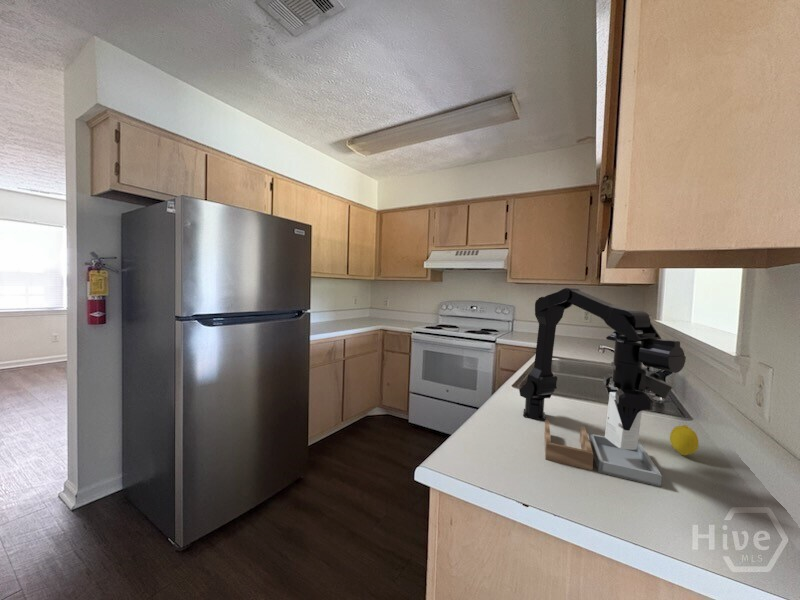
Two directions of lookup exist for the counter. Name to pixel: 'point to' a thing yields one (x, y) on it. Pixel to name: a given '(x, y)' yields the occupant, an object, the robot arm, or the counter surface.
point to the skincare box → (621, 428)
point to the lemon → (684, 440)
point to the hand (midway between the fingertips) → (622, 424)
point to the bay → (569, 451)
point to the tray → (624, 461)
